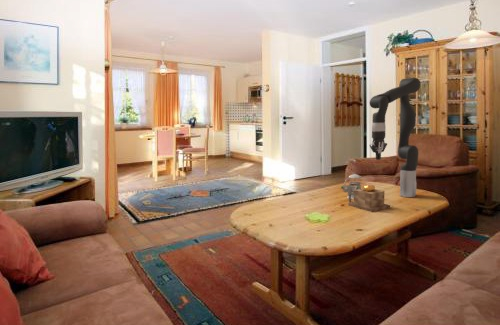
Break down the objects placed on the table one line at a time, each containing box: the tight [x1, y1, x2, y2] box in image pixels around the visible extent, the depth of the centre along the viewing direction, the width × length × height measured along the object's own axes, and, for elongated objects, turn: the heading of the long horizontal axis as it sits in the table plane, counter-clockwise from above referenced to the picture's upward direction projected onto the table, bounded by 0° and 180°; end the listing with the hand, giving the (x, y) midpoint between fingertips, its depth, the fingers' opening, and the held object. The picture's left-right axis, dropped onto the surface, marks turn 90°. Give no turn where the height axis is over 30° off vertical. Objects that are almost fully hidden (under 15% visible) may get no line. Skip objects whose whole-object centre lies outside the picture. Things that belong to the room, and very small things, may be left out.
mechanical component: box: [340, 184, 359, 203], centre depth 217 cm, size 3×10×10 cm, turn 78°
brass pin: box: [363, 184, 376, 192], centre depth 204 cm, size 6×6×10 cm
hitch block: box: [347, 188, 391, 213], centre depth 204 cm, size 15×18×10 cm
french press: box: [343, 159, 362, 200], centre depth 227 cm, size 10×12×25 cm
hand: (378, 159), depth 207 cm, fingers closed
